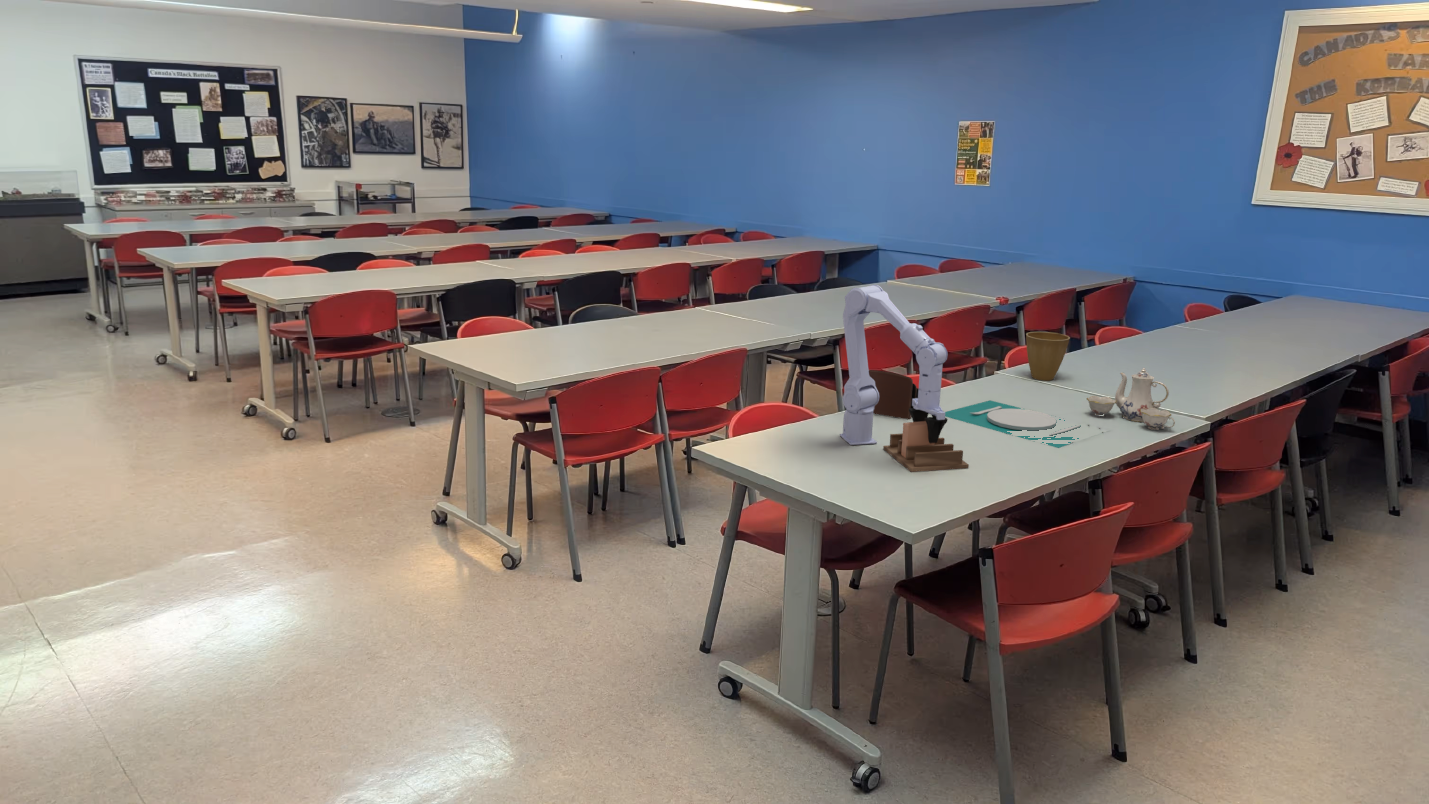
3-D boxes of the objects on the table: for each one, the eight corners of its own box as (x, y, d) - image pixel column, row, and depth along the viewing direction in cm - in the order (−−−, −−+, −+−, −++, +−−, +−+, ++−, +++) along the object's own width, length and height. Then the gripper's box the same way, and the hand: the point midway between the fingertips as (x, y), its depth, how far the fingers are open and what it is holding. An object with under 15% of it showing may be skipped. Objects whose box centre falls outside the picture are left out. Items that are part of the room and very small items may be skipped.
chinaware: (1076, 419, 289) (1079, 369, 284) (1101, 405, 300) (1104, 356, 294) (1167, 440, 269) (1172, 386, 264) (1190, 424, 280) (1196, 372, 274)
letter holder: (909, 420, 282) (912, 375, 278) (849, 410, 292) (851, 367, 288) (919, 412, 290) (922, 369, 287) (861, 403, 300) (863, 361, 296)
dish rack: (883, 449, 254) (884, 433, 253) (937, 445, 257) (938, 430, 256) (911, 471, 236) (912, 455, 235) (968, 468, 239) (969, 451, 238)
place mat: (930, 416, 289) (931, 409, 288) (989, 401, 307) (989, 394, 306) (1059, 452, 255) (1060, 445, 254) (1116, 433, 273) (1117, 426, 272)
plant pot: (1021, 381, 330) (1026, 337, 326) (1022, 372, 344) (1026, 330, 340) (1065, 384, 326) (1070, 340, 322) (1064, 375, 340) (1069, 333, 335)
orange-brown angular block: (901, 454, 246) (903, 422, 244) (928, 452, 248) (930, 420, 246) (906, 458, 243) (908, 425, 241) (933, 456, 245) (935, 423, 243)
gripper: (903, 383, 247) (900, 431, 251) (929, 397, 233) (925, 447, 237) (926, 382, 249) (923, 429, 252) (953, 395, 235) (949, 445, 239)
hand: (926, 438), depth 245 cm, fingers open, 7 cm apart
